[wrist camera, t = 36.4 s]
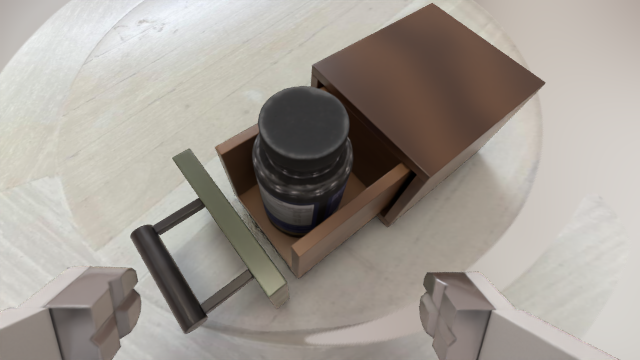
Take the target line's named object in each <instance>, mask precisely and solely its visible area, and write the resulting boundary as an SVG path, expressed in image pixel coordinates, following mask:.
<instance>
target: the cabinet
mask: <svg viewBox="0 0 640 360" xmlns="http://www.w3.org/2000/svg"><path fill="white" fill-rule="evenodd" d="M544 84H545V82H544V81H542V80H541V79H540V78H538V77H537V76H535V75H534V74H533V73H531V72H530V71H528V70H527V69H526V68H524V67H523V66H521V65H520V64H518V63H517V62H516V61H514V60H513V59H511V58H510V57H509V56H507V55H506V54H504V53H503V52H501V51H500V50H499V49H497V48H496V47H494V46H493V45H491V44H490V43H489V42H487V41H486V40H484V39H483V38H482V37H480V36H479V35H477V34H476V33H474V32H473V31H472V30H470V29H469V28H467V27H466V26H465V25H463V24H462V23H460V22H459V21H457V20H456V19H455V18H453V17H452V16H450V15H449V14H447V13H446V12H445V11H443V10H442V9H440V8H439V7H438V6H436V5H435V4H433V3H431V4H429V5H427V6H425V7H423V8H421V9H420V10H418V11H416V12H414V13H412V14H410V15H408V16H406V17H404V18H402V19H400V20H398V21H396V22H394V23H392V24H391V25H389V26H387V27H385V28H383V29H381V30H379V31H377V32H375V33H373V34H371V35H369V36H367V37H365V38H363V39H362V40H360V41H358V42H356V43H354V44H352V45H350V46H348V47H346V48H344V49H342V50H340V51H338V52H336V53H335V54H333V55H331V56H329V57H327V58H325V59H323V60H321V61H319V62H317V63H315V64H313V65H312V76H311V87H315V88H318V89H320V88H322V87H324V86H325V87H326V88H327V89H328V90H330V91H331V92H332V93H333V94H334V95H335V96H336V97H337V98H338V99H339V100H340V101H341V102H342V103H343V104H344V105H345V106H346V107H347V108H348V109H349V110H350V111H351V112H352V113H353V114H354V115H355V116H356V117H358V118H359V119H360V120H361V121H362V122H363V123H364V124H365V125H366V126H367V127H368V128H369V129H370V130H371V131H372V132H373V133H374V134H375V135H376V136H377V137H378V138H379V139H380V140H381V141H382V142H383V143H384V144H385V145H387V146H388V147H389V148H390V149H391V150H392V151H393V152H394V153H395V154H396V155H397V156H398V157H399V158H400V159H401V160H402V161H403V162H404V163H405V164H406V165H407V166H408V167H409V168H410V169H411V170H412V171H413V173H412V174H411V175H410V177H409V178H408V179H407V181H406V182H405V184H404V185H403V186H402V188H401V189H400V190H399V192H398V193H397V195H396V196H395V197H394V199H393V200H392V201H391V203H390V204H389V206H387V207H386V208H385V209H384V210H382V211H381V212H380V213H379V214H377V215H376V216H377V217H378V218H379V219H380V220H381V221H382V222H383V223H384V224H385V225H386V226H387V227H389V226H390V225H391V224H392V223H394V222H395V221H396V220H397V219H398V218H399V217H401V216H402V215H403V214H404V213H405V212H407V211H408V210H409V209H410V208H411V207H412V206H414V205H415V204H416V203H417V202H418V201H420V200H421V199H422V198H423V197H424V196H425V195H427V194H428V193H429V192H430V191H431V190H433V189H434V188H435V187H436V186H437V185H438V184H440V183H441V182H442V181H443V180H444V179H446V178H447V177H448V176H449V175H450V174H451V173H453V172H454V171H455V170H456V169H457V168H459V167H460V166H461V165H462V164H463V163H464V162H466V161H467V160H468V159H469V158H470V157H472V156H473V155H474V154H475V153H476V152H477V151H479V150H480V149H481V147H483V146H484V145H485V144H486V143H487V142H488V141H489V140H490V139H491V138H492V137H493V136H494V135H495V134H496V133H497V132H498V131H499V130H500V129H501V128H502V127H503V126H504V125H505V124H506V123H507V122H508V121H509V119H510V118H511V117H512V116H513V115H514V114H515V113H516V112H517V111H518V110H519V109H520V108H521V107H522V106H523V105H524V104H525V103H526V102H527V101H528V100H529V99H530V98H531V97H532V96H533V95H534V94H535V93H536V92H537V91H538V90H539V89H540V88H541V87H542V86H543V85H544Z"/></svg>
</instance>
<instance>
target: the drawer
mask: <svg viewBox="0 0 640 360" xmlns="http://www.w3.org/2000/svg"><path fill="white" fill-rule="evenodd" d="M320 89H322V90H324V91H326V92H328V93H330V94H332V95H333V96H335V95H334V94H333V93H332V92H331V91H330V90H328V89H327V88H326V87H325V86H324V87H322V88H320ZM335 97H336V96H335ZM336 98H337V97H336ZM337 99H338V98H337ZM338 100H339V99H338ZM339 101H340V100H339ZM340 102H341V101H340ZM341 103H342V102H341ZM342 104H343V103H342ZM343 106H344V107H345V109H346V112H347V114H348V117H349V133H348V138H349V140H350V143H351V145H352V149H353V165H352V170H351V173H350V175H349V178H348V181H347V184H346V187H345V190H344V193H343V196H342V199H341V202H340V204H339V207H338V210H337V212H335V213H334V214H333V215H331V216H330V217H329V218H327V219H326V220H325V221H323V222H322V223H321V224H319V225H318V226H317V227H315V228H314V229H313V230H311V231H310V232H309V233H307V234H306V235H305V236H303V237H295V236H291V235H288V234H286V233H283V232H281V231H280V230H278V229H277V228H276V227H275V226H274V225H273V224H272V223H271V222H270V220H269V218H268V217H267V214H266V212H265V208H264V204H263V200H262V197H261V193H260V189H259V185H258V181H257V178H256V174H255V171H254V166H253V161H252V150H253V145H254V142H255V139H256V138H257V135H258V134H259V127H258V123H257V124H255V125H254V126H252V127H250V128H248V129H246V130H245V131H243V132H241V133H239V134H238V135H236V136H234V137H232V138H230V139H229V140H227V141H225V142H223V143H221V144H220V145H218V146H216V147H215V149H216V151H217V153H218V156H219V158H220V161H221V163H222V165H223V168H224V170H225V172H226V175H227V177H228V179H229V182H230V184H231V186H232V189H233V191H234V194H235V195H236V197H237V198H238V199H239V201H240V202H241V203H242V205H243V206H244V207H245V209H246V210H247V211H248V213H249V214H250V215H251V217H252V218H253V219H254V221H255V222H256V223H257V225H258V226H259V227H260V229H261V230H262V231H263V233H264V234H265V235H266V237H267V238H268V239H269V241H270V242H271V243H272V245H273V246H274V247H275V249H276V250H277V251H278V253H279V254H280V256H281V257H282V258H283V260H284V261H285V262H286V264H287V265H288V266H289V268H290V269H291V270H292V272H293V273H294V274H295V276H296V277H297V278H298V279H299V278H300V277H301V276H302V275H304V274H305V273H306V272H307V271H308V270H310V269H311V268H312V267H313V266H315V265H316V264H317V263H318V262H320V261H321V260H322V259H323V258H324V257H326V256H327V255H328V254H329V253H331V252H332V251H333V250H334V249H336V248H337V247H338V246H339V245H341V244H342V243H343V242H344V241H345V240H347V239H348V238H349V237H350V236H352V235H353V234H354V233H355V232H357V231H358V230H359V229H360V228H361V227H363V226H364V225H365V224H366V223H368V222H369V221H370V220H371V219H373V218H374V217H375V216H376V215H377V214H379V213H380V212H381V211H382V210H384V209H385V208H386V207H387V206H389V204H390V203H391V201H392V200H393V199H394V197H395V196H396V195H397V193H398V192H399V190H400V189H401V188H402V186H403V185H404V184H405V182H406V181H407V179H408V178H409V177H410V175H411V174H412V173H413V171H412V170H411V169H410V168H409V167H408V166H407V165H406V164H405V163H404V162H403V161H402V160H401V159H400V158H399V157H398V156H397V155H396V154H395V153H394V152H393V151H392V150H391V149H390V148H389V147H388V146H387V145H385V144H384V143H383V142H382V141H381V140H380V139H379V138H378V137H377V136H376V135H375V134H374V133H373V132H372V131H371V130H370V129H369V128H368V127H367V126H366V125H365V124H364V123H363V122H362V121H361V120H360V119H359V118H358V117H356V116H355V115H354V114H353V113H352V112H351V111H350V110H349V109H348V108H347V107H346V106H345V105H344V104H343ZM172 159H173V160H174V162H175V163H176V165H177V166H178V168H179V169H180V171H181V172H182V173H183V175H184V176H185V178H186V179H187V181H188V182H189V184H190V185H191V186H192V188H193V189H194V191H195V192H196V194H197V195H198V197H199V198H198V199H196V200H195V201H193V202H191V203H190V204H188V205H186V206H185V207H183V208H181V209H180V210H178V211H176V212H175V213H173V214H172V215H170V216H168V217H167V218H165V219H163V220H162V221H160V222H158V223H157V224H155V225H154V226H152V225H144V226H141V227H139V228H137V229H136V230H134V231H133V232H132V233H131V239H132V241H133V243H134V245H135V246H136V248H137V250H138V252H139V254H140V255H141V257H142V259H143V261H144V263H145V264H146V266H147V268H148V270H149V271H150V273H151V275H152V277H153V279H154V280H155V282H156V284H157V286H158V287H159V289H160V291H161V293H162V295H163V296H164V298H165V300H166V302H167V304H168V305H169V307H170V309H171V311H172V312H173V314H174V316H175V318H176V320H177V321H178V323H179V325H180V327H181V328H182V330H183V332H184V333H185V334H187V333H190V332H191V331H193V330H195V329H196V328H198V327H199V326H200V325H202V324H203V323H204V322H205V321H206V320H207V318H208V316H207V315H206V314H208V313H210V312H211V311H212V310H214V309H215V308H216V307H217V306H219V305H220V304H221V303H223V302H224V301H225V300H227V299H228V298H229V297H231V296H232V295H233V294H235V293H236V292H237V291H238V290H240V289H241V288H242V287H244V286H245V285H246V284H248V283H249V282H250V281H252V280H253V279H254V278H255V279H256V280H257V282H258V283H259V285H260V286H261V288H262V289H263V291H264V292H265V293H266V295H267V296H268V298H269V299H270V301H271V302H272V303H273V305H274V306H275V308H276V309H278V308H279V307H280V306H281V305H282V304H284V303H285V302H286V301H287V300H288V299H289V292H288V285H287V281H286V280H285V278H284V277H283V276H282V274H281V273H280V272H279V270H278V269H277V267H276V266H275V265H274V263H273V262H272V261H271V259H270V258H269V256H268V255H267V254H266V252H265V251H264V250H263V248H262V247H261V245H260V244H259V243H258V241H257V240H256V239H255V237H254V236H253V234H252V233H251V232H250V230H249V229H248V228H247V226H246V225H245V223H244V222H243V221H242V219H241V218H240V217H239V215H238V214H237V213H236V211H235V210H234V208H233V207H232V206H231V204H230V203H229V202H228V200H227V199H226V197H225V196H224V195H223V193H222V192H221V191H220V189H219V188H218V186H217V185H216V184H215V182H214V181H213V180H212V178H211V177H210V175H209V174H208V173H207V171H206V170H205V169H204V167H203V166H202V165H201V163H200V162H199V160H198V159H197V158H196V156H195V155H194V154H193V152H192V151H191V149H187V150H185V151H183V152H182V153H180V154H178V155H176V156H174V157H173V158H172ZM204 207H206V208H207V210H208V211H209V212H210V214H211V215H212V217H213V218H214V220H215V221H216V223H217V224H218V225H219V227H220V228H221V230H222V231H223V233H224V234H225V236H226V237H227V238H228V240H229V241H230V243H231V244H232V246H233V247H234V249H235V250H236V252H237V253H238V254H239V256H240V257H241V259H242V260H243V262H244V263H245V265H246V266H247V267H248V270H246V271H245V272H244V273H242V274H241V275H240V276H238V277H237V278H236V279H234V280H233V281H231V282H230V283H229V284H227V285H226V286H225V287H223V288H222V289H221V290H219V291H218V292H217V293H215V294H214V295H213V296H211V297H210V298H209V299H207V300H206V301H205V302H203V303H202V304H201V305H200V303H199V301H198V300H197V298H196V296H195V295H194V293H193V291H192V290H191V288H190V286H189V285H188V283H187V281H186V280H185V278H184V276H183V275H182V273H181V271H180V270H179V268H178V266H177V265H176V263H175V261H174V260H173V258H172V256H171V255H170V253H169V251H168V250H167V248H166V246H165V245H164V243H163V241H162V240H161V238H160V236H159V235H161V234H163V233H165V232H166V231H168V230H169V229H171V228H173V227H174V226H176V225H177V224H179V223H181V222H182V221H184V220H185V219H187V218H189V217H190V216H192V215H193V214H195V213H197V212H198V211H200V210H201V209H203V208H204ZM158 234H159V235H158Z"/></svg>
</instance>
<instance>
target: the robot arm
mask: <svg viewBox="0 0 640 360" xmlns="http://www.w3.org/2000/svg"><path fill="white" fill-rule="evenodd" d="M137 282H138V279H137V274H136V271H135V270H134V269H133V268H123V267H92V266H74V267H69V268H67V269H66V270H65V271H63V272H62V273H61V274H59V275H58V276H57V277H56V278H54V279H53V280H52V281H50V282H49V283H48V284H47V285H45V286H44V287H43V288H41V289H40V290H39V291H38V292H36V293H35V294H34V295H32V296H31V297H30V298H29V299H27V300H26V301H25V302H23V303H22V304H21V305H20V306H18V307H17V308H8V309H5V310H3V311H0V360H112V359H113V357H114V356H115V354H116V353H117V351H118V350H119V349H120V347H121V345H120V339H121V338H123V337H124V336H126V335H127V334H129V333H130V332H131V331H132V330H133V328H134V327H135V325H136V324H137V321H138V318H139V315H140V312H141V298H140V295H139V294H138V293H137V292H136V291H135V290H134V289H133V288H134V286H135V285H136V284H137ZM423 285H424V287H425V289H426V290H427V292H426V293H425V294H424V295H423V296H422V297H421V299H420V306H419V310H420V319H421V322H422V325H423V328H424V330H425V332H426V333H427V334H429V335H430V336H431V337H433V338H434V340H433V345H432V346H433V348H434V350H435V352H436V354H437V356H438V358H439V360H619V359H617V358H615V357H613V356H611V355H609V354H607V353H605V352H603V351H601V350H599V349H598V348H596V347H594V346H592V345H590V344H588V343H586V342H584V341H582V340H580V339H578V338H576V337H574V336H572V335H570V334H568V333H566V332H564V331H562V330H561V329H559V328H557V327H555V326H553V325H551V324H549V323H547V322H545V321H543V320H541V319H539V318H537V317H535V316H533V315H531V314H529V313H527V312H525V311H524V310H517V309H516V308H515V307H514V306H513V305H512V304H511V303H510V302H509V301H508V300H507V299H506V298H505V297H504V296H503V295H502V294H501V293H500V291H499V290H498V289H497V288H496V287H495V286H494V285H493V284H492V283H491V282H490V281H489V280H488V279H487V278H486V277H485V276H484V275H483V274H482V273H479V272H427V274H426V275H425V278H424V283H423Z"/></svg>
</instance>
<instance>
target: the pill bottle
mask: <svg viewBox="0 0 640 360" xmlns="http://www.w3.org/2000/svg"><path fill="white" fill-rule="evenodd" d="M258 127H259V134H258V135H257V138H256V139H255V142H254V145H253V150H252V161H253V166H254V171H255V174H256V178H257V181H258V185H259V189H260V193H261V197H262V200H263V204H264V208H265V212H266V214H267V217H268V218H269V220H270V222H271V223H272V224H273V225H274V226H275V227H276V228H277V229H278V230H280V231H281V232H283V233H286V234H288V235H291V236H295V237H303V236H305V235H306V234H307V233H309V232H310V231H311V230H313V229H314V228H315V227H317V226H318V225H319V224H321V223H322V222H323V221H325V220H326V219H327V218H329V217H330V216H331V215H333V214H334V213H335V212H337V210H338V207H339V204H340V202H341V199H342V196H343V193H344V190H345V187H346V184H347V181H348V178H349V175H350V173H351V170H352V165H353V149H352V145H351V143H350V140H349V138H348V133H349V117H348V114H347V112H346V109H345V107H344V106H343V104H342V103H341V102H340V101H339V100H338V99H337V98H336V97H335V96H333V95H332V94H330V93H328V92H326V91H324V90H322V89H318V88H315V87H307V86H299V87H292V88H287V89H284V90H282V91H280V92H278V93H276V94H274V95H273V96H272V97H270V98H269V99H268V100H267V101H266V103H265V104H264V105H263V107H262V109H261V112H260V114H259V119H258Z"/></svg>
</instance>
